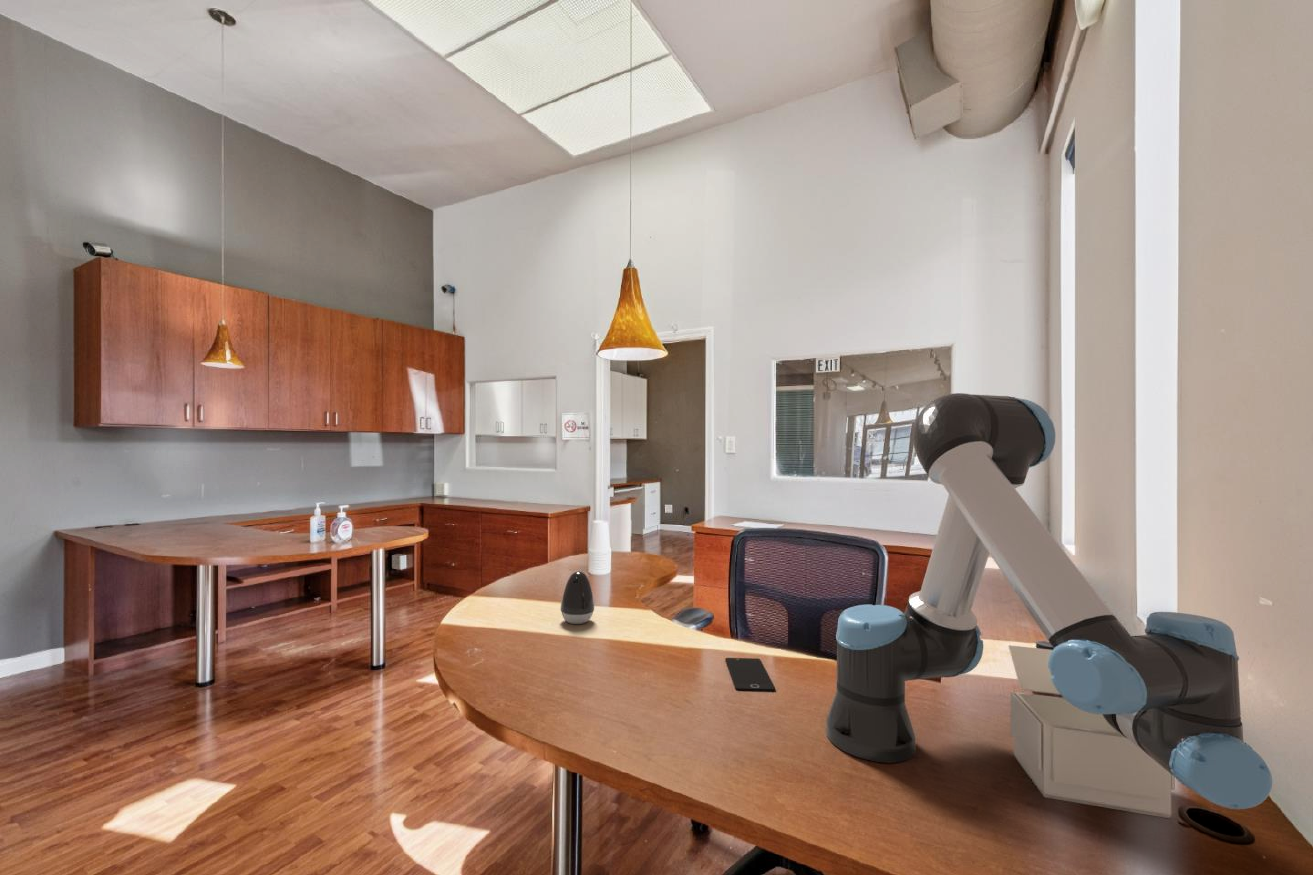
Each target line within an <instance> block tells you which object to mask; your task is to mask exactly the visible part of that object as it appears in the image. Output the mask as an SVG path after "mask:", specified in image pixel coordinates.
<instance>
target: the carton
mask: <svg viewBox="0 0 1313 875" xmlns="http://www.w3.org/2000/svg"><path fill="white" fill-rule="evenodd" d="M1010 735H1011V736H1012V737H1013V757H1014V758H1015V759H1016V760H1017V762H1018V764H1020V766H1021V768H1022V769H1023V770H1024V771H1025V773H1026V774H1027V775H1028V777H1029V779H1030V780H1031V779H1032V780H1031V781H1032V783H1034V786H1035V787H1036V786H1037V787H1036V788H1037V789H1038V791H1039V792H1040V794H1041V795H1042V797H1044V798H1047V799H1054V800H1060V801H1065V802H1070V803H1076V804H1083V805H1088V806H1095V807H1101V808H1105V809H1111V810H1112V809H1114V810H1118V811H1124V812H1130V813H1136V814H1143V815H1148V816H1154V817H1159V818H1165V819H1172V791H1176V778H1175V777H1174V776H1173V775H1172V774H1171V773H1169V772H1168V771H1167V770H1166V769H1165V768H1163V767H1162V766H1161V765H1160V764H1159V763H1157V762H1156V761H1155V760H1154V759H1153V758H1151V757H1150V756H1149V755H1148V754H1146V753H1145V752H1144V751H1143V750H1142V749H1140V748H1139V747H1138V746H1136V745H1135V744H1134V743H1133V742H1131V741H1130V740H1129V739H1127V738H1126V737H1124V736H1123V735H1122V734H1121V733H1119V732H1118V731H1117V730H1116V729H1114V728H1113V727H1112V726H1111V725H1110V724H1109V723H1108V722H1107V721H1106V719H1105V718H1104V716H1103V715H1102V714H1092V713H1088V712H1085V711H1083V710H1080V709H1078V708H1077V707H1075V706H1073V705H1072V704H1070V703H1069V702H1068V701H1067V700H1066V699H1065V698H1064V697H1062V698H1059V697H1051V696H1043V695H1036V694H1035V693H1033V694H1032V693H1027V692H1026V693H1025V692H1017V691H1014V692H1010Z"/></svg>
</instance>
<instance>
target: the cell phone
mask: <svg viewBox="0 0 1313 875" xmlns="http://www.w3.org/2000/svg"><path fill="white" fill-rule="evenodd" d="M724 662H725V664H726V667H727V670H728V672H729V675H730V679H731V681H732V683H733V687H734V689H735V691H738V692H766V693H767V692H776V691H777V690H776V687H775V684H774V683H773V681H772V679H771V677H770V676H769V673H768V671H767V669H766V668H765V666H764V664H763V662H762V660H761V659H760V658H757V657H756V658H755V657H753V658H752V657H750V658H749V657H726V658H725V659H724Z"/></svg>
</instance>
